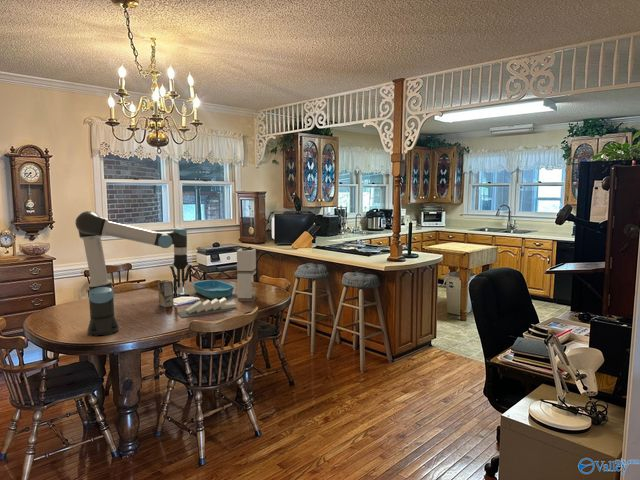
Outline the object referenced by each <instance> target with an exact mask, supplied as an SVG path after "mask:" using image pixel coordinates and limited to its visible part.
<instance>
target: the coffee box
mask: <svg viewBox="0 0 640 480" xmlns="http://www.w3.org/2000/svg"><path fill="white" fill-rule="evenodd" d="M173 285H174V283H173V281H170V280H167V279H165V280H159V281H157V291H158V305H159V306H160V307H164V308H169V307H173V305H175V303H174V286H173Z"/></svg>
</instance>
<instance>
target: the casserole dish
mask: <svg viewBox="0 0 640 480" xmlns="http://www.w3.org/2000/svg"><path fill="white" fill-rule="evenodd" d="M192 286H193V288H194V291H195V292H196V293H198V294H199V295H201V296H204V297H206V298H207V299H208V298H209V299H212V300H214V299H222V298H223V297H224V298H226V297H230V296H232V295H233V292H234V289H235V286H234V285H233V284H231V283H228V282H225V281H222V280H217V279H210V280H209V279H208V280H207V279H206V280H200V281H197V282H193V283H192Z"/></svg>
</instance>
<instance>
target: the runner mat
mask: <svg viewBox="0 0 640 480" xmlns="http://www.w3.org/2000/svg"><path fill="white" fill-rule="evenodd" d="M233 310H234V308H227V309H220V308H217V309H216V310H213V309H212V308H211V309H209V310H208V311H205V310H202V311H200V312H198V313H197V312H196V311H194V312H192V313H190V314H188V313H187V311H186V310H182V311H177V312H176V313H177V315H178V316H179V317H180V319H183V318H190V317H197V316H203V315H209V314H215V313H216V314H217V313H222V312H229V311H233Z"/></svg>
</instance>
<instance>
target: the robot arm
mask: <svg viewBox="0 0 640 480" xmlns="http://www.w3.org/2000/svg"><path fill="white" fill-rule="evenodd" d="M75 228H76V229H77V232H78V237H79V238H80V239H81V240H82V241H83V246H84V250H85V251H84V252H85V257H86V262H87V267H88V272H89V279H90V283H89V284H88V289H89V292H88V302H89V303H88V305H89V319H90V321H89V324H88V327H87V331H86V332H87V335H88V334H89V335H88V336H90V335H94V336H93V337H99V336H98V335H104V336H108V335H107V334H109V335H112V334H111V333H113V334H114V332H115V333H117V332H119V331H120V325H119V323H118V321H117V319H116V316H115V315H116V314H115V304H114V303H115V291H114V288H113V284H112V280H111V279H109V277H108V271H107V266H106V260H105V255H104V250H103V244H102V237H103V236H109V237H112V238H113V237H114V238H119V239H124V240H128V241H133V242H137V243H143V244H147V245H150V246H151V245H152V246H155V247H160V248H162V249H168V248H170V247H171V246H172V245H173V254H174V255H173V262H172V264H171V265H169V269H171V274H172V278H173V281H174V282H176V283H177V288H178V293H180V294H183V292H184V290H183V289H184V287H185V283H186V282H187V281H188V279H189V275H190V270H191V268H192V267H193V266H192V264H189V262H188V254H187V253H188V236H187V235H188V234H187V233H188V231H187V229H186V228H180V227H178V228H176V227H175V228H173V231H153V230H148V229H144V228H140V227H136V226H132V225H127V224H123V223H117V222H113V221H109V220H108V218H105V217H101V215H99V214H98V213H97V212H94V211H91V210H87V211H83V212H81V213H80V214H79V215H78V216H77V217H76V218H75ZM175 269H176V272H175ZM185 269H186V271H185Z"/></svg>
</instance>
